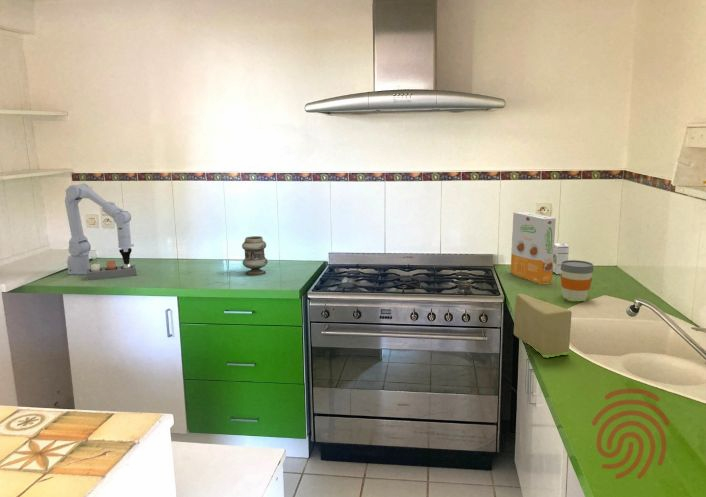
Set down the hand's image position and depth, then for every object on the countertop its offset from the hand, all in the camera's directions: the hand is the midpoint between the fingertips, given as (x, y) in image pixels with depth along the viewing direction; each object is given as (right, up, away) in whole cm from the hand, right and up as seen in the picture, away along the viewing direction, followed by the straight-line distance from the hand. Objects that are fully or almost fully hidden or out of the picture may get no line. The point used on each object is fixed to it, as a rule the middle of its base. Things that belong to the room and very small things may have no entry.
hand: (126, 263), depth 283 cm
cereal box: (+194, -7, -12) cm, 195 cm away
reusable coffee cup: (+203, -14, -45) cm, 208 cm away
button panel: (-6, -6, -2) cm, 9 cm away
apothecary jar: (+63, -5, +1) cm, 63 cm away
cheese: (+170, -24, -96) cm, 197 cm away
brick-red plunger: (-6, -3, -2) cm, 7 cm away
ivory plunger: (-13, -4, -5) cm, 14 cm away
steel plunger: (0, -4, +1) cm, 4 cm away
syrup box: (+211, -5, -3) cm, 211 cm away
